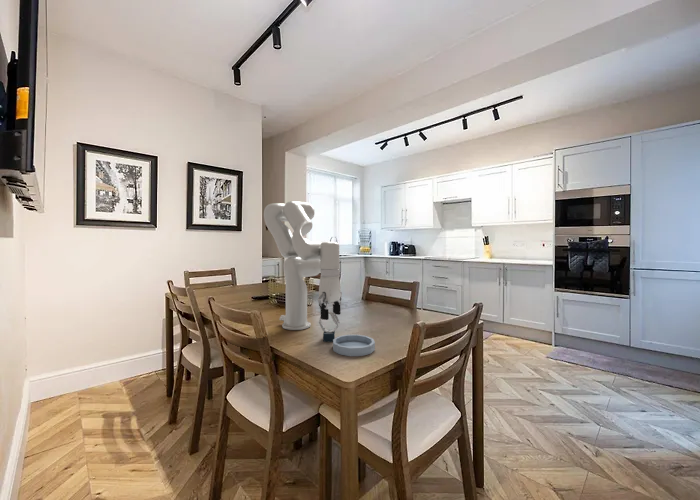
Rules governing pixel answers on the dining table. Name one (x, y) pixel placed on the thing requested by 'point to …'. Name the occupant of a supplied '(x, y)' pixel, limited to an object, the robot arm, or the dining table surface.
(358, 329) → the dining table surface
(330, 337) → the watch
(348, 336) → the dish
